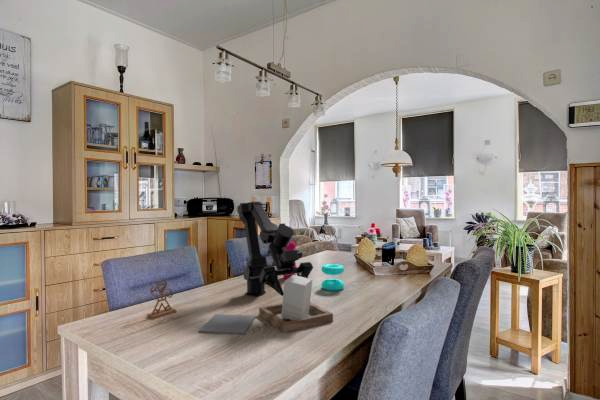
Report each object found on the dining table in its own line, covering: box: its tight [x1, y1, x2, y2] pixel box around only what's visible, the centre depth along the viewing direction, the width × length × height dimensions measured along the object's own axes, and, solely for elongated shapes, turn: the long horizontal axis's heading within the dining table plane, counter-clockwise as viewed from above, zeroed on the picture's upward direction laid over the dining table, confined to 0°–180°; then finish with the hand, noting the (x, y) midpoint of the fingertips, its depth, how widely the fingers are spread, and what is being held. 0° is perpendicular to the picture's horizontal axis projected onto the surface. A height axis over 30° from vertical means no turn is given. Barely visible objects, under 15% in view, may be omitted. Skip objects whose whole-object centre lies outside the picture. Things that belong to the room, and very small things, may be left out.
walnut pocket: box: [258, 301, 334, 334], centre depth 114 cm, size 18×18×2 cm
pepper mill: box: [282, 240, 297, 280], centre depth 169 cm, size 7×7×20 cm
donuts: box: [321, 263, 345, 291], centre depth 151 cm, size 10×10×10 cm
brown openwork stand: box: [146, 279, 177, 320], centre depth 118 cm, size 9×4×12 cm, turn 143°
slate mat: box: [198, 313, 257, 335], centre depth 108 cm, size 14×14×1 cm
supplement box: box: [280, 274, 313, 321], centre depth 113 cm, size 7×7×13 cm
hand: (295, 293), depth 113 cm, fingers closed on supplement box, 9 cm apart
